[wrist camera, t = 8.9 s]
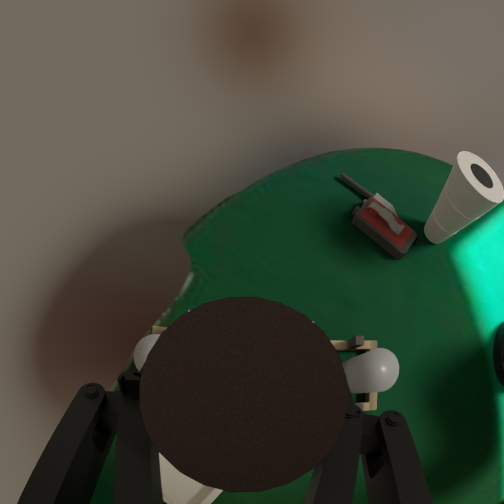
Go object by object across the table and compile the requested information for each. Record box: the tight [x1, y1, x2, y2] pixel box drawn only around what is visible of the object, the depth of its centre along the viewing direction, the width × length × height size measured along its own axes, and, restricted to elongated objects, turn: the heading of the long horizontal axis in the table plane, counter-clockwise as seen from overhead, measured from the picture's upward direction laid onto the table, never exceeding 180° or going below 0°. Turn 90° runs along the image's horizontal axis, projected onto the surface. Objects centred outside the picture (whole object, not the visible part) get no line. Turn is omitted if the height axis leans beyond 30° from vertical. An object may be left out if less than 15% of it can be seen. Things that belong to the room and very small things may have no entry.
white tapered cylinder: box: [424, 151, 504, 244], centre depth 40 cm, size 11×11×18 cm
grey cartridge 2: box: [342, 348, 399, 394], centre depth 32 cm, size 5×5×11 cm
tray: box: [159, 453, 223, 504], centre depth 29 cm, size 12×12×2 cm
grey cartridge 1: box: [134, 334, 160, 371], centre depth 32 cm, size 5×5×11 cm
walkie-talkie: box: [340, 174, 419, 260], centre depth 48 cm, size 9×4×20 cm
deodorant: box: [139, 297, 348, 492], centre depth 14 cm, size 6×6×15 cm
